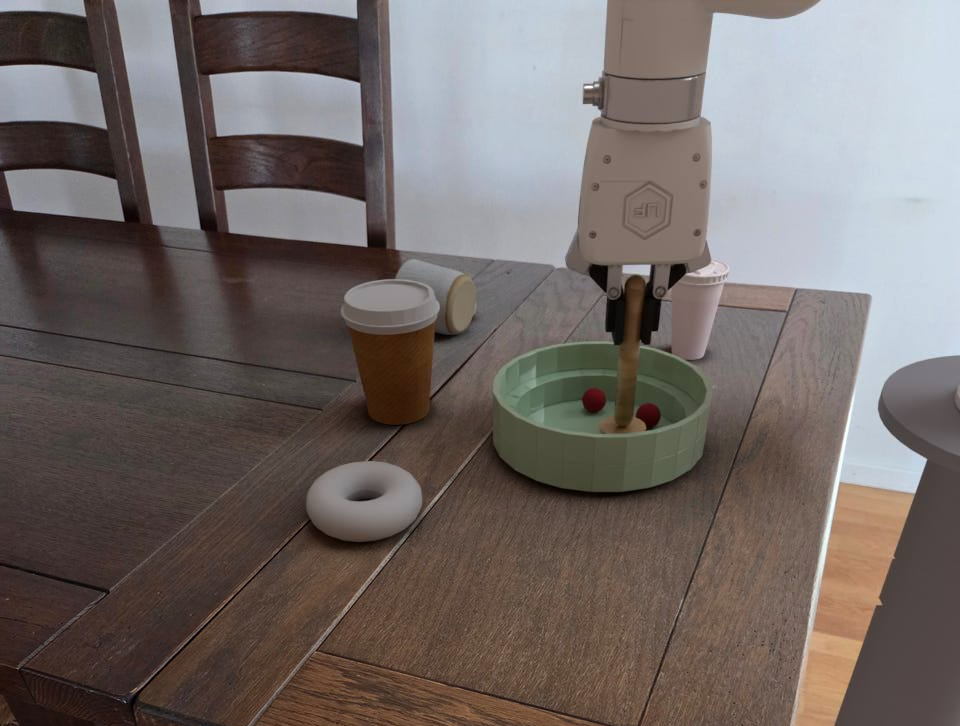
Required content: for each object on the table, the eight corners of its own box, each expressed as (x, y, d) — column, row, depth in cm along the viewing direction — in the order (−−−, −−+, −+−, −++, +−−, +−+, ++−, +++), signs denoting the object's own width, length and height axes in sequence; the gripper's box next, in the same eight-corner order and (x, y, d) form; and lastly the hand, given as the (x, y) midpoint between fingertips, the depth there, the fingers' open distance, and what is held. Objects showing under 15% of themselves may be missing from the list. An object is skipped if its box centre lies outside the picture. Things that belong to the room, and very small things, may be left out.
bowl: (685, 395, 94) (693, 340, 90) (720, 497, 78) (731, 436, 75) (494, 397, 94) (494, 342, 90) (492, 498, 79) (491, 437, 75)
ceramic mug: (451, 346, 105) (449, 279, 100) (392, 334, 107) (387, 268, 103) (492, 316, 112) (492, 253, 107) (436, 306, 115) (433, 244, 110)
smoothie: (658, 363, 100) (674, 231, 91) (660, 340, 105) (675, 213, 96) (717, 366, 99) (738, 233, 90) (715, 343, 104) (736, 215, 95)
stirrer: (642, 426, 87) (658, 265, 77) (647, 448, 83) (665, 283, 73) (596, 426, 87) (607, 266, 77) (600, 448, 83) (612, 284, 73)
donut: (418, 551, 73) (428, 486, 81) (415, 516, 71) (426, 452, 78) (298, 550, 74) (319, 485, 81) (292, 516, 71) (314, 452, 79)
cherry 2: (657, 421, 88) (660, 398, 87) (660, 432, 86) (663, 410, 85) (633, 421, 88) (635, 399, 87) (636, 433, 86) (638, 410, 85)
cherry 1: (604, 405, 91) (605, 383, 89) (606, 416, 89) (607, 394, 88) (580, 405, 91) (582, 383, 90) (582, 416, 89) (583, 394, 88)
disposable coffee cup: (418, 440, 87) (409, 319, 80) (335, 422, 91) (319, 304, 83) (460, 400, 94) (456, 284, 86) (381, 385, 97) (371, 272, 89)
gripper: (548, 112, 64) (542, 358, 76) (769, 107, 64) (728, 355, 76) (544, 93, 70) (539, 324, 82) (747, 88, 69) (712, 321, 81)
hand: (630, 337), depth 79 cm, fingers closed on stirrer
